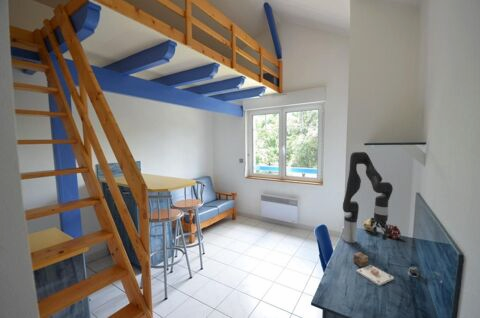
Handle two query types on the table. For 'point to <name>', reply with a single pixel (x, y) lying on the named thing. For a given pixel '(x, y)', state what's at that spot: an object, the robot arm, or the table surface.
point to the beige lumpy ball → (368, 225)
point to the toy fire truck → (394, 232)
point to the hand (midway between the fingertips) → (379, 236)
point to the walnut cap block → (360, 259)
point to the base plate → (375, 275)
